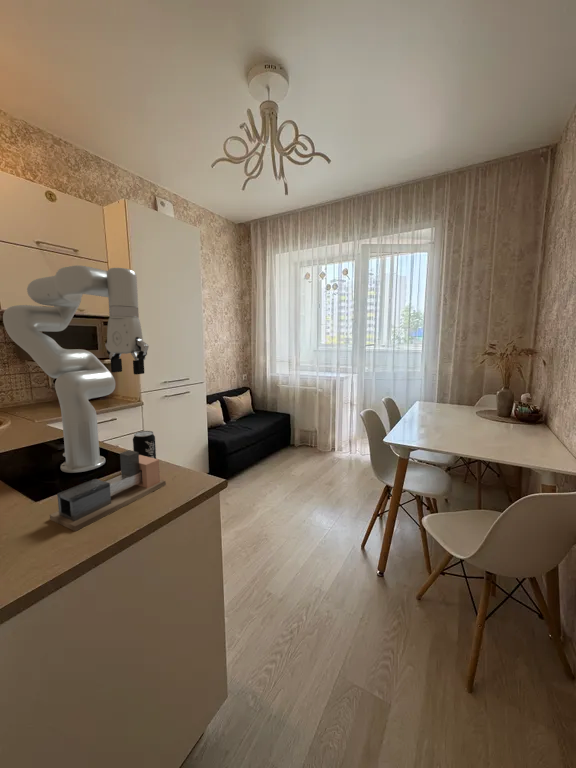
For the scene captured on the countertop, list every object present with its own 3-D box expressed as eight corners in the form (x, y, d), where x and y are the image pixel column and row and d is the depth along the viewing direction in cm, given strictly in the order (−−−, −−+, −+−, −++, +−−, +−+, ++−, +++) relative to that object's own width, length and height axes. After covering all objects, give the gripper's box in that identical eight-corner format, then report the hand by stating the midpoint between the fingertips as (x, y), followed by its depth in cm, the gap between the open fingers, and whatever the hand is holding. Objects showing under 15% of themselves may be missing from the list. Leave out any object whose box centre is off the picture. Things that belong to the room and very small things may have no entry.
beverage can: (141, 474, 100) (139, 437, 99) (130, 469, 104) (128, 433, 103) (160, 467, 106) (158, 432, 104) (149, 463, 109) (148, 429, 108)
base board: (50, 519, 75) (49, 514, 75) (141, 478, 98) (141, 474, 98) (75, 531, 71) (75, 526, 71) (165, 485, 93) (165, 481, 93)
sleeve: (59, 515, 75) (57, 493, 74) (96, 498, 83) (95, 478, 82) (74, 521, 72) (72, 499, 72) (111, 503, 80) (109, 483, 80)
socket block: (128, 482, 92) (126, 459, 91) (140, 476, 96) (139, 454, 95) (147, 488, 89) (146, 464, 88) (160, 481, 93) (158, 459, 92)
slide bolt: (87, 499, 80) (84, 465, 78) (141, 475, 94) (140, 446, 93) (96, 503, 78) (93, 468, 77) (150, 478, 92) (149, 448, 91)
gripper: (92, 313, 92) (96, 372, 95) (133, 312, 84) (136, 376, 87) (116, 315, 99) (119, 370, 101) (156, 314, 91) (158, 373, 94)
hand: (127, 373), depth 94 cm, fingers open, 9 cm apart
